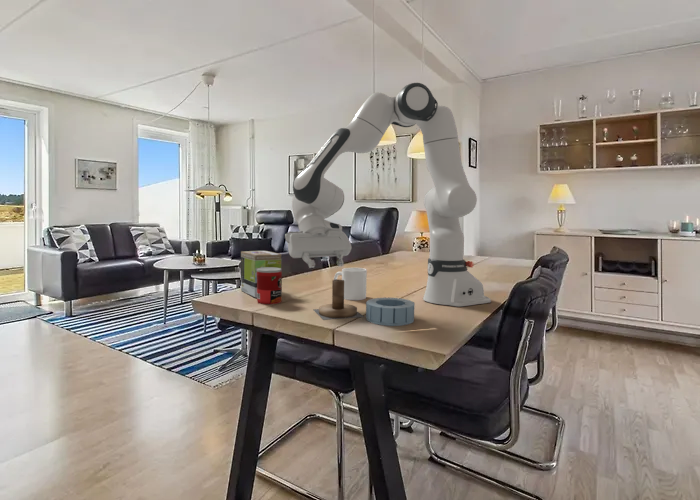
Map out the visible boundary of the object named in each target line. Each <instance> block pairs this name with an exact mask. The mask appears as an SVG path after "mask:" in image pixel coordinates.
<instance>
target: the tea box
mask: <svg viewBox="0 0 700 500" xmlns="http://www.w3.org/2000/svg"><path fill="white" fill-rule="evenodd" d="M264 267H276V268H281V269H282V254H281V253H278V252H274V251H268V250H249V251H247V250H246V251H240V291H241V292H243V293H246V294H248V295H249V296H251V297H254V298H256V299H257V269H258V268H264Z"/></svg>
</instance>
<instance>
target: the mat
mask: <svg viewBox="0 0 700 500" xmlns="http://www.w3.org/2000/svg"><path fill="white" fill-rule="evenodd" d="M313 312H314V313H316V314H317V315H318V317H320V319H321V320H323V321H328V320H340V319H342V320H344V319H355V318H365V316H364V315H363V314H361V313H360V312H359V311H357V314H356V315H355V316H352V317H347V318H330V317H324V316H321V315H320V314H319V308H318V309H317V308H315V309H313Z"/></svg>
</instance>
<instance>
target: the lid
mask: <svg viewBox="0 0 700 500" xmlns="http://www.w3.org/2000/svg"><path fill="white" fill-rule="evenodd" d="M331 284H332V288H331V289H332V290H331V291H332V292H331V293H332V294H331V299H332V300H331V303H325V304H322V305H320V306H319V307H318V309H319V314H320V315H321V316H324V317H330V318H345V319H348V318H347V317H352V316H355V315H356V314H357V312H358V308H357V306H355V305H353V304H350V303H349V304H348V303H345V299H344V280H342V279H337V280H334V279H332V283H331Z"/></svg>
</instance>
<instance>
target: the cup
mask: <svg viewBox="0 0 700 500" xmlns="http://www.w3.org/2000/svg"><path fill="white" fill-rule="evenodd" d="M367 275H368V272H367V269H366V268H363V267H344V268H342V269H341V271H337V272H336V273H335V274H334V277H333V280H338V277H339V276H341V280H344V300H346V301H362V300H366V298H367Z"/></svg>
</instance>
